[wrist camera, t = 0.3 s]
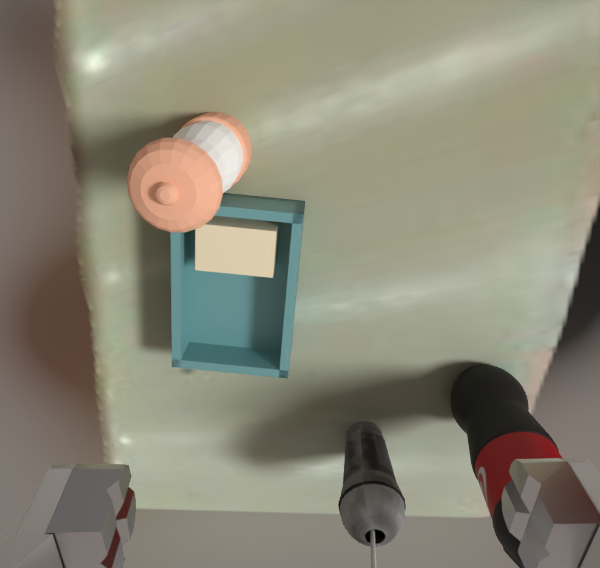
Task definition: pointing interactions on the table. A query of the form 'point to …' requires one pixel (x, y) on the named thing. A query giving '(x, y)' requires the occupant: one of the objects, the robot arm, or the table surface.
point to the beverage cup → (370, 489)
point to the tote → (237, 298)
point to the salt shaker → (189, 172)
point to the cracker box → (237, 246)
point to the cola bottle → (498, 436)
